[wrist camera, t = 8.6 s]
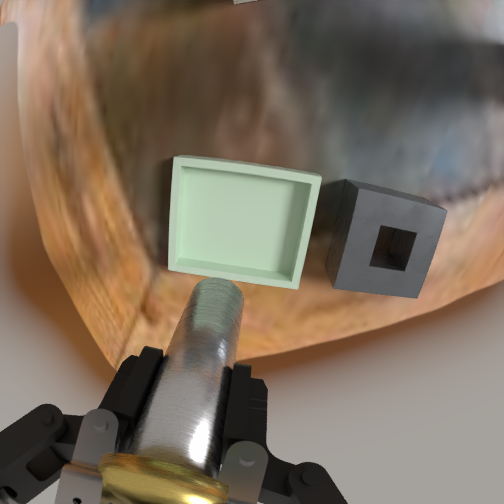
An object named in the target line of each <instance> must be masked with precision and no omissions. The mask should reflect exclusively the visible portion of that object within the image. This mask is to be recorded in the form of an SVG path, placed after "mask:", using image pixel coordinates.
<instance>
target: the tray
mask: <svg viewBox="0 0 504 504" xmlns="http://www.w3.org/2000/svg"><path fill="white" fill-rule="evenodd" d="M321 179H322V177H321V176H320V175H319V174H318V173H313V172H307V171H302V170H296V169H290V168H284V167H278V166H272V165H265V164H258V163H251V162H244V161H236V160H228V159H219V158H210V157H201V156H191V155H178V156H175V157H174V161H173V173H172V187H171V202H170V222H169V252H168V270H172V271H178V272H184V273H190V274H196V275H203V276H209V277H217V278H223V279H228V280H235V281H242V282H248V283H255V284H262V285H269V286H276V287H283V288H291V289H298V286H299V282H300V278H301V273H302V269H303V265H304V260H305V256H306V252H307V247H308V242H309V238H310V233H311V229H312V224H313V219H314V214H315V209H316V204H317V199H318V194H319V189H320V184H321Z"/></svg>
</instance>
